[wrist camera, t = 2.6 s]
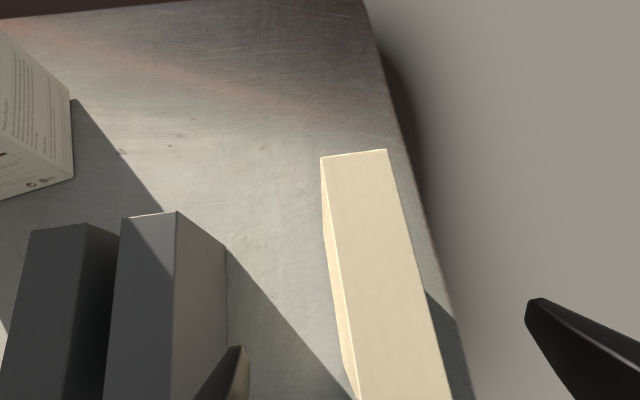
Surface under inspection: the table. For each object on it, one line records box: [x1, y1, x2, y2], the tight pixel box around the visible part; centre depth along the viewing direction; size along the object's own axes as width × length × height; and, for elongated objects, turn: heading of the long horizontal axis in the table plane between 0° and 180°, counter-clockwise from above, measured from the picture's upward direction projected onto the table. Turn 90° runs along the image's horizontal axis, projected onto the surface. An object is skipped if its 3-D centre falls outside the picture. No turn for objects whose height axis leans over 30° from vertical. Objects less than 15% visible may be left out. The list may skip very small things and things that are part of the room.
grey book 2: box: [0, 223, 120, 400], centre depth 15 cm, size 8×2×7 cm, turn 8°
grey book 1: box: [102, 211, 228, 400], centre depth 15 cm, size 8×2×7 cm, turn 8°
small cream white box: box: [320, 149, 453, 400], centre depth 14 cm, size 8×2×10 cm, turn 8°
